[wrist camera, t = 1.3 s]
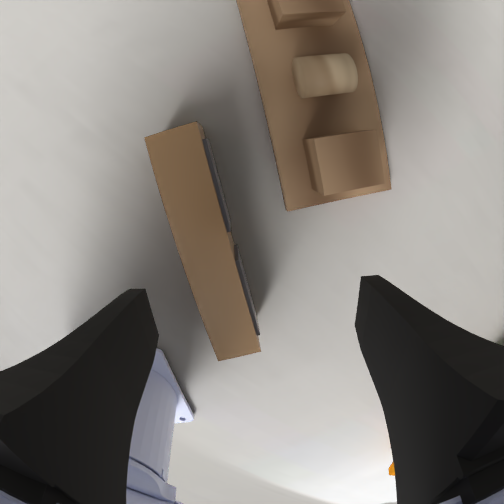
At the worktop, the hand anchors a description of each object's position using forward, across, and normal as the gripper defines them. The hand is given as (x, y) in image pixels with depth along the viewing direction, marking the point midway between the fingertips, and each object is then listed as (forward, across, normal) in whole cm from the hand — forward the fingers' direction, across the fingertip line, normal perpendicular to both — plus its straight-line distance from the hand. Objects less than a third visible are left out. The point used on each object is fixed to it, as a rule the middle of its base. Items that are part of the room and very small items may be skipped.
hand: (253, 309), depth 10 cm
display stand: (+11, -4, -8) cm, 14 cm away
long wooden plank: (+10, +3, +1) cm, 10 cm away
